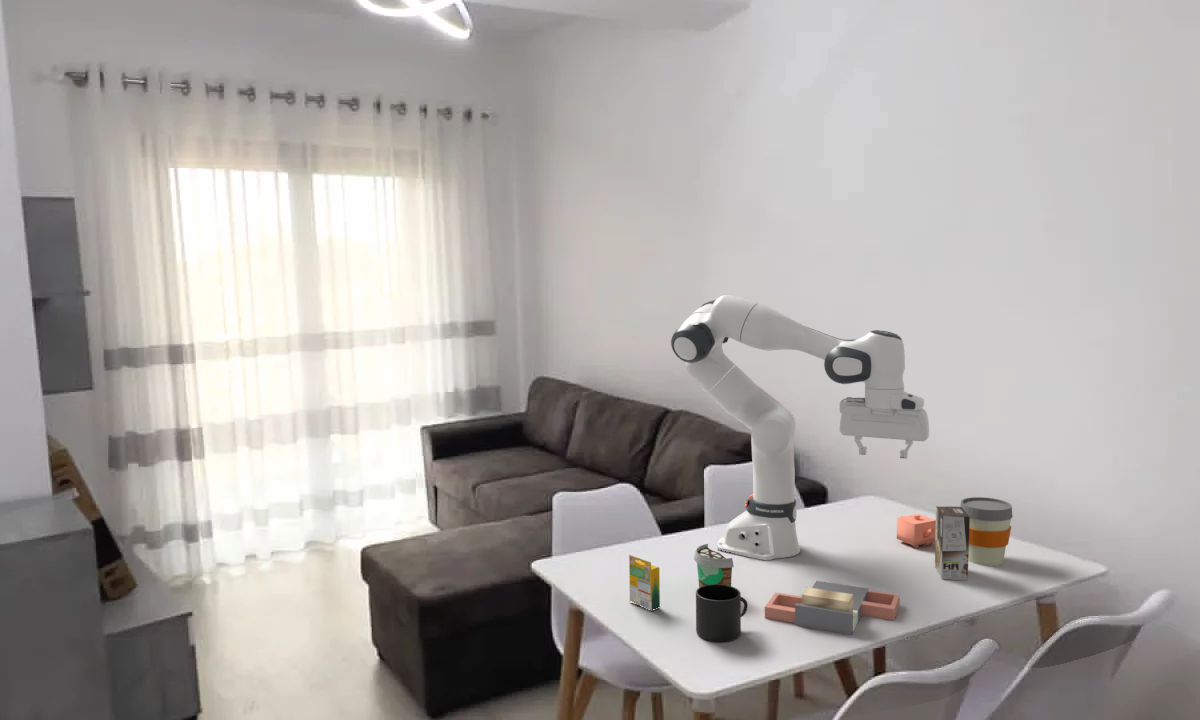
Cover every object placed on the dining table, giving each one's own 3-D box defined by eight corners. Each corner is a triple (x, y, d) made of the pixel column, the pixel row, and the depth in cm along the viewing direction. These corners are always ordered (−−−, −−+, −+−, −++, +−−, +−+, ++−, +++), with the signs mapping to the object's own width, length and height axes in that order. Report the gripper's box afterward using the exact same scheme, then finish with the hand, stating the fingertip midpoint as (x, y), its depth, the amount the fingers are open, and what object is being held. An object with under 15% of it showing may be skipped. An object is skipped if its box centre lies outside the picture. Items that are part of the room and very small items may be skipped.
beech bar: (801, 612, 183) (802, 594, 183) (806, 604, 187) (806, 587, 187) (849, 619, 179) (849, 601, 178) (852, 612, 183) (853, 594, 182)
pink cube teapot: (922, 553, 226) (923, 523, 225) (891, 540, 237) (891, 511, 236) (945, 548, 229) (945, 519, 228) (913, 536, 240) (913, 507, 239)
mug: (759, 635, 178) (759, 594, 177) (710, 646, 173) (710, 604, 172) (735, 618, 187) (735, 579, 186) (688, 628, 182) (687, 588, 181)
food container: (684, 586, 206) (684, 546, 205) (706, 582, 208) (706, 543, 207) (711, 604, 195) (710, 562, 193) (733, 599, 197) (733, 558, 196)
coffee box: (968, 581, 205) (970, 516, 204) (940, 579, 207) (942, 515, 205) (960, 567, 214) (962, 506, 212) (934, 566, 216) (935, 505, 214)
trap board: (763, 619, 186) (763, 599, 185) (787, 586, 204) (787, 568, 204) (886, 640, 174) (887, 619, 174) (900, 603, 193) (900, 584, 192)
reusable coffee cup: (948, 558, 221) (949, 502, 219) (974, 548, 228) (976, 494, 227) (994, 571, 211) (996, 513, 209) (1020, 560, 218) (1022, 504, 217)
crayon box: (660, 608, 193) (660, 559, 192) (651, 612, 191) (650, 562, 190) (638, 599, 198) (637, 551, 197) (629, 602, 197) (628, 554, 195)
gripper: (836, 398, 202) (836, 455, 204) (927, 403, 192) (926, 463, 194) (842, 394, 207) (841, 449, 209) (931, 399, 198) (929, 457, 200)
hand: (883, 456), depth 201 cm, fingers open, 8 cm apart
